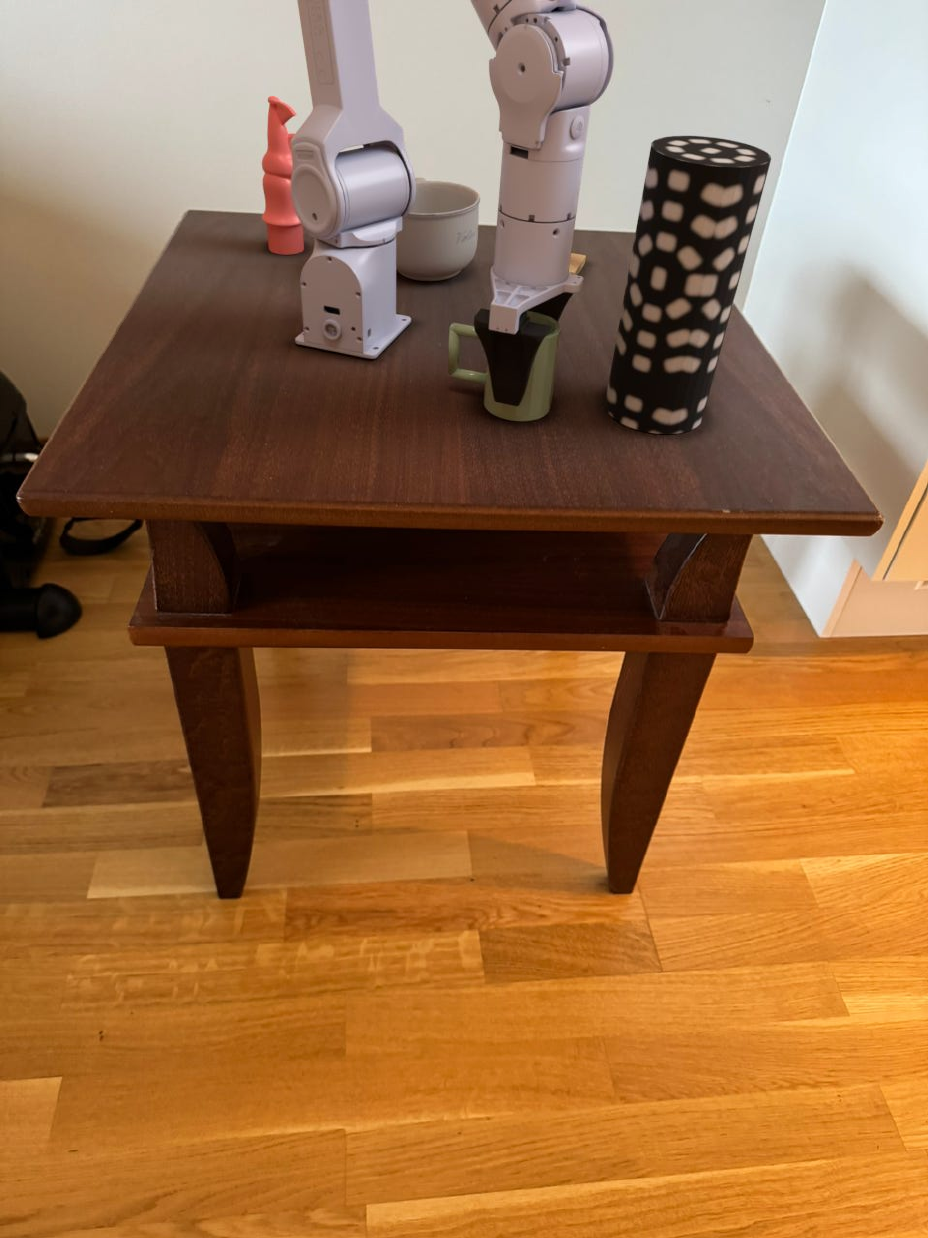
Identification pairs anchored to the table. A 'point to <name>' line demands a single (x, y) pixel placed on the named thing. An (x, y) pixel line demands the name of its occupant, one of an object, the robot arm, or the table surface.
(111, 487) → the table surface
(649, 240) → the spotted tube
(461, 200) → the teacup
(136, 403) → the table surface
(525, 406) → the mug
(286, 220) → the figurine
